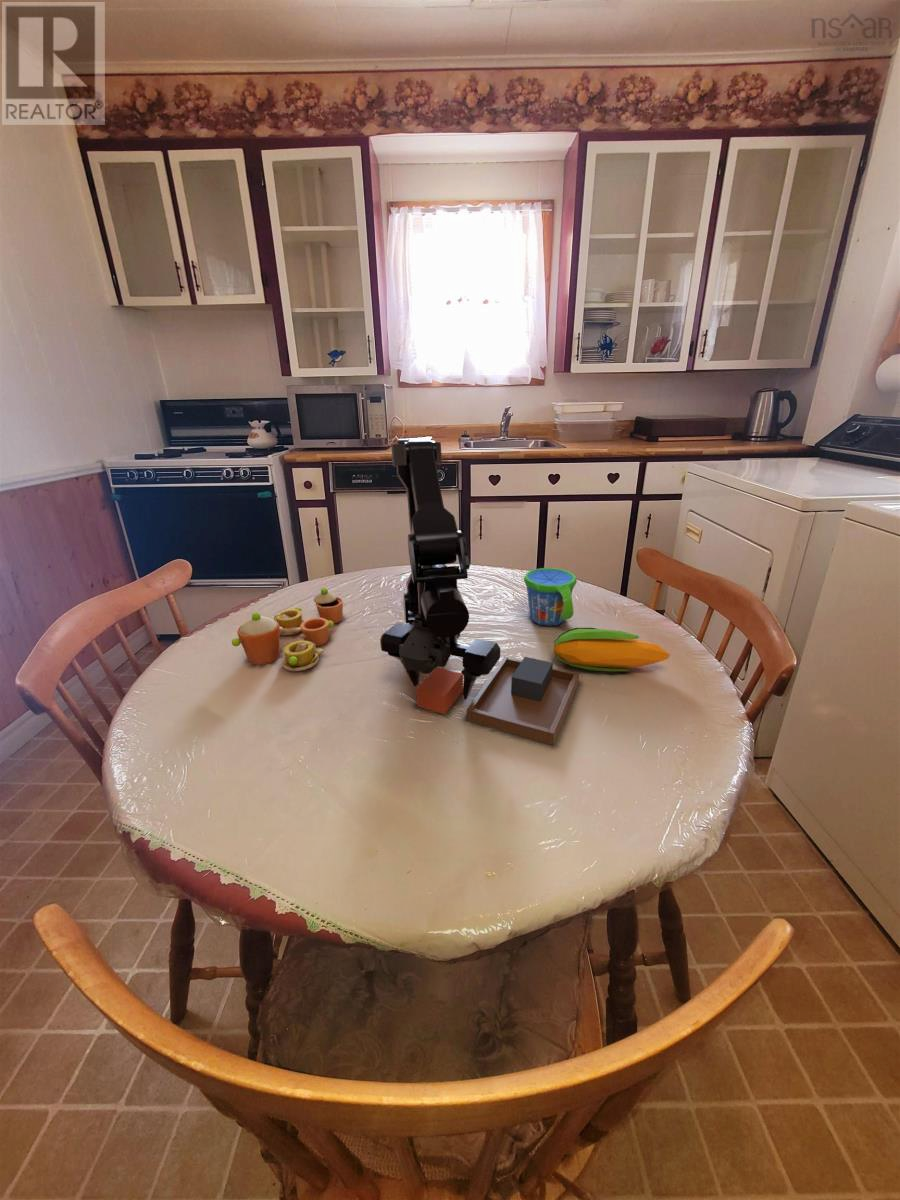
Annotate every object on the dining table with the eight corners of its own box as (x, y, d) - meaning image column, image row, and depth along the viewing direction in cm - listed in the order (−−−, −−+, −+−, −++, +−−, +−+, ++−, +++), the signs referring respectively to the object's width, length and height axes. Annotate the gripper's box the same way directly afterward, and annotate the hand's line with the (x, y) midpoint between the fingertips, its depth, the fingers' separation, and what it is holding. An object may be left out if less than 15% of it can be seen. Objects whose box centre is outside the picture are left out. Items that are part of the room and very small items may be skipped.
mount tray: (466, 720, 75) (466, 709, 74) (503, 666, 89) (504, 656, 88) (553, 745, 69) (554, 734, 69) (578, 683, 83) (579, 672, 82)
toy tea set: (311, 677, 87) (304, 630, 83) (230, 673, 88) (219, 626, 84) (354, 613, 110) (350, 574, 106) (290, 611, 112) (283, 572, 108)
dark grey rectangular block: (510, 694, 80) (511, 677, 78) (523, 672, 86) (524, 656, 84) (540, 701, 78) (541, 684, 76) (551, 679, 84) (552, 662, 82)
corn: (554, 617, 89) (668, 622, 86) (551, 651, 93) (660, 657, 90) (555, 638, 83) (678, 646, 80) (552, 674, 86) (670, 682, 83)
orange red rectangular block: (417, 706, 78) (416, 689, 77) (437, 683, 84) (436, 667, 83) (445, 714, 76) (444, 696, 75) (463, 690, 82) (462, 673, 81)
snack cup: (512, 607, 111) (513, 565, 107) (555, 602, 113) (558, 561, 109) (538, 639, 97) (541, 593, 93) (586, 633, 99) (591, 587, 95)
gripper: (355, 617, 70) (365, 704, 77) (473, 642, 63) (473, 737, 69) (395, 589, 79) (401, 669, 86) (502, 608, 72) (500, 694, 78)
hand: (440, 691), depth 80 cm, fingers open, 9 cm apart
